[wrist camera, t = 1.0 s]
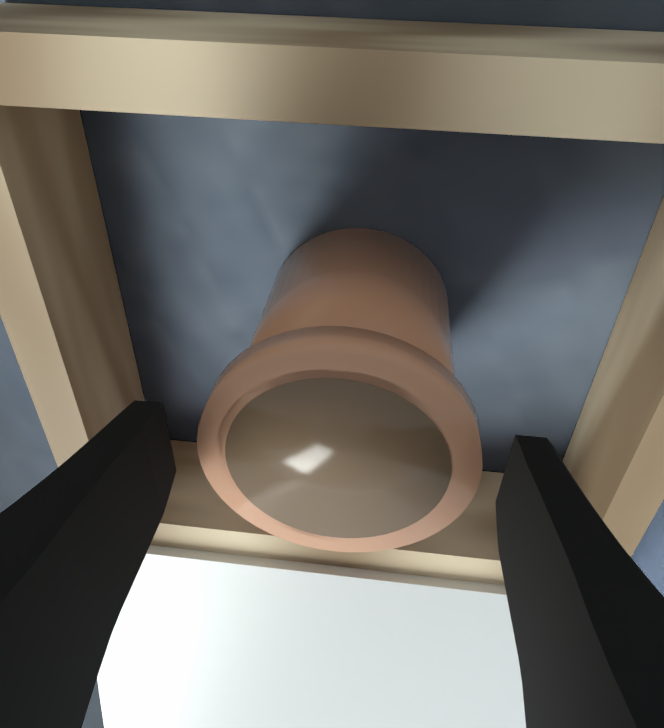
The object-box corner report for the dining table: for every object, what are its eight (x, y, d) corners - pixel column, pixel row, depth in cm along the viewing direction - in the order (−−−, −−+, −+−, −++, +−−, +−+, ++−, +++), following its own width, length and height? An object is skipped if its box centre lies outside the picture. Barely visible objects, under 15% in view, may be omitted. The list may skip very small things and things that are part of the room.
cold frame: (788, 37, 12) (1183, 167, 6) (501, 688, 29) (523, 890, 23) (3, 2, 13) (-357, 78, 7) (178, 647, 30) (119, 829, 24)
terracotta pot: (479, 221, 15) (511, 368, 10) (446, 396, 18) (458, 567, 13) (252, 205, 15) (178, 339, 10) (263, 380, 19) (211, 539, 14)
